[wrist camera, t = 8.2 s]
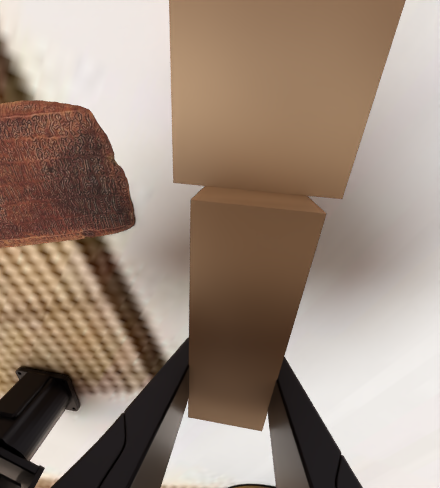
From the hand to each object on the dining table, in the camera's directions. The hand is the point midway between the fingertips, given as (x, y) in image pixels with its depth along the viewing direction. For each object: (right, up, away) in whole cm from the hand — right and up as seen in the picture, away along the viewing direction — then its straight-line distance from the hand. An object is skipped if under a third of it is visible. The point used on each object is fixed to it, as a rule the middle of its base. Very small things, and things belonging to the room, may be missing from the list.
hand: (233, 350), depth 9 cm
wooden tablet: (-20, +9, +8) cm, 23 cm away
